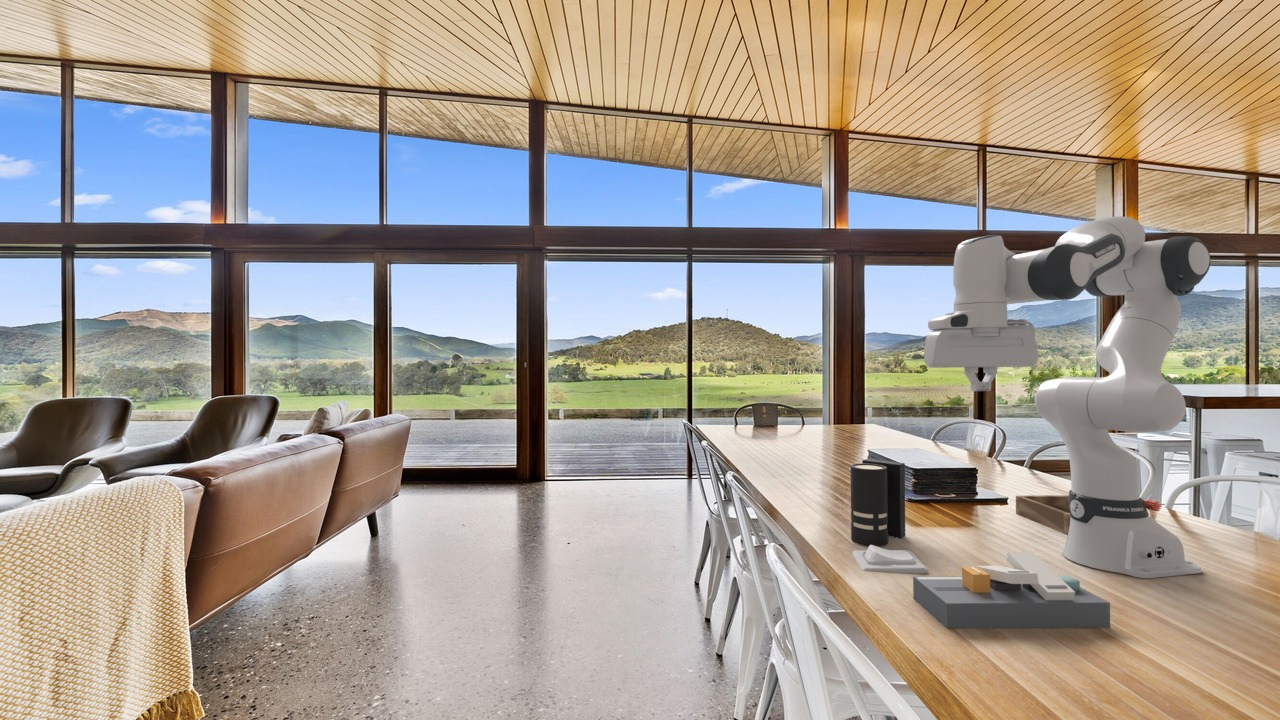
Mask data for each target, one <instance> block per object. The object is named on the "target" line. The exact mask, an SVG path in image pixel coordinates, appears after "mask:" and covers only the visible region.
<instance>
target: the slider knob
mask: <svg viewBox="0 0 1280 720" xmlns="http://www.w3.org/2000/svg"><path fill="white" fill-rule="evenodd" d="M961 576H962V585H963V586H965V587H966V588H967V589H969V590H970V591H972V592H973V593H990V574H988V573H986V572H985V571H983V570H982V569H980V568H978V567H974V566H969V567H967V566H966V567H961Z"/></svg>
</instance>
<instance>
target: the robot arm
mask: <svg viewBox="0 0 1280 720" xmlns="http://www.w3.org/2000/svg"><path fill="white" fill-rule="evenodd" d="M1145 240H1146V231H1145V228H1144V227H1143V225H1142V223H1140V222H1139V221H1137V220H1136V219H1134V218H1132V217H1130V216H1129V217H1128V216H1110V217H1109V216H1108V217H1102V218H1099V219H1094V220H1091V221H1088V222H1085V223H1082V224H1079V225H1078V226H1074V227H1073V228H1070V230H1068V231H1067V232H1065V233H1063V235H1061V236H1060V237H1059V238H1058V239H1057V241H1056V243H1055V245H1054V246H1051V247H1047V248H1043V249H1038V250H1034V251H1028V252H1022V253H1015V252H1013V251H1011V250H1010V249H1008V247H1006V246H1005V243H1004V240H1003V236H1001V235H1000V234H999V235H998V234H988V235H983V236H979V237H978V236H977V237H975V238H970V239H966V240H964V241H961V242H960V243H959V244H958V245H957V247H956V249H955V252H954V259H953V272H952V273H953V274H952V275H953V277H952V278H953V281H952V282H953V287H954V290H955V298H954V301H953V311H952V312H950V313H947V314H946V313H945V314H944V315H939V316H937V317H934V318H931V319H930V320H928V322H927V326H928V329H929V330H930V331H929V332H928V333H927V335H926V337H925V342H924V352H923V353H924V355H923V357H924V363H925V365H926V366H927V367H928V368H931V369H933V368H937V369H938V368H940V369H941V368H942V369H943V368H964V375H965V376H966V378H967V379H968V381H969V382H970V390H971V391H972V392H990V391H992V382H993V380H994V379H995V377H996V376H997V374H998V368H1004V367H1005V368H1008V367H1009V368H1013V367H1015V368H1016V367H1017V368H1020V367H1021V368H1023V367H1025V368H1027V367H1035V366H1036V365H1037V363H1038V362H1039V355H1038V345H1037V340H1036V336H1035V335H1036V330H1035V329H1036V328H1035V325H1033V323H1032V322H1030V321H1028V320H1027V319H1025V318H1024V319H1023V318H1022V319H1021V318H1020V319H1011V318H1010V319H1009V318H1008V305H1013V304H1025V303H1034V302H1042V301H1069V300H1072V299H1075V298H1077V297H1078V296H1080V294H1081V293H1083V292H1084V291H1086V292H1087V293H1088V294H1089V295H1092V296H1093V297H1100V298H1101V297H1102V298H1104V297H1105V298H1108V297H1109V298H1111V297H1114V296H1124V301H1123V302H1124V303H1123V304H1121V306H1120V308H1119V309H1118V310H1117V312H1116V313H1115V315H1114V316H1113V318H1112V319H1111V320H1110V322H1109V324H1108V326H1107V328H1106V330H1105V332H1104V333H1103V335H1102V336H1101V339H1100V341H1099V343H1098V345H1097V346H1096V349H1095V357H1096V361H1097V363H1098V364H1099V366H1100V367H1101V368H1103V370H1105V371H1106V372H1108V373H1109V374H1108V375H1107V376H1102V377H1099V376H1096V377H1095V376H1094V377H1093V376H1067V377H1066V376H1065V377H1058V378H1053V379H1047V380H1044V381H1043V382H1042V383H1041V384H1040V385H1039V387H1038V389H1036V393H1035V397H1034V405H1035V408H1036V411H1037V412H1038V414H1039V415H1040V416H1041V418H1043V419H1044V420H1046V421H1047V422H1048V423H1049V424H1051V426H1052V427H1053V428H1054V429H1055V430H1056V431H1057V433H1058V434H1059V436H1060V437H1061V439H1062V441H1063V443H1064V445H1065V448H1066V450H1067V454H1068V458H1069V465H1070V466H1069V467H1070V468H1069V469H1070V481H1071V482H1070V483H1071V487H1070V490H1068V495H1069V510H1070V515H1071V517H1070V525H1069V531H1068V535H1067V537H1066V541H1065V545H1064V548H1063V550H1062V556H1064V558H1066V559H1068V560H1070V561H1072V562H1074V563H1077V564H1079V565H1083V566H1087V567H1090V568H1093V569H1098V570H1102V571H1107V572H1114V573H1118V574H1124V575H1128V576H1131V577H1134V578H1135V577H1136V578H1140V579H1153V578H1162V577H1163V578H1164V577H1173V576H1184V575H1193V574H1201V573H1202V571H1203V570H1202V567H1200V566H1199V565H1198V564H1196V563H1195V562H1193V561H1191V560H1189V559H1186V558H1185V551H1184V550H1185V549H1184V546H1183V543H1182V541H1181V539H1180V538H1179V537H1178V536H1177V535H1176V534H1174V533H1173V532H1171V531H1170V530H1168V529H1167V528H1166V527H1164V526H1163V525H1162V524H1160V523H1158V521H1156V520H1155V519H1153V518H1152V517H1151V516H1150V514H1149V511H1148V510H1150V511H1153V512H1156V513H1157V512H1160V510H1161V509H1162V504H1160V502H1159V501H1156V500H1152V499H1147V500H1144V499H1143V498H1141V496H1140V464H1139V462H1138V460H1137V458H1136V456H1134V455H1133V454H1132V453H1130V452H1129V451H1127V450H1125V449H1124V448H1122V447H1120V446H1118V445H1117V443H1115V442H1114V440H1113V439H1112V437H1111V435H1110V432H1109V430H1110V431H1121V432H1129V433H1141V434H1142V433H1156V432H1157V433H1158V432H1169V431H1171V430H1173V429H1174V428H1176V427H1177V426H1178V425H1179V424H1180V423H1181V422H1182V420H1183V419H1184V417H1185V415H1186V410H1187V406H1186V405H1187V404H1186V400H1185V398H1184V395H1183V394H1182V392H1181V391H1180V390H1179V389H1178V388H1177V386H1175V385H1174V384H1172V383H1170V382H1169V381H1168V380H1167V379H1165V378H1164V376H1163V373H1162V367H1163V364H1164V360H1165V358H1166V355H1167V353H1168V351H1169V349H1170V347H1171V344H1172V342H1173V340H1174V338H1175V335H1176V333H1177V331H1178V327H1179V325H1180V319H1181V314H1182V313H1181V312H1182V306H1181V303H1180V301H1179V300H1178V297H1185V296H1186V295H1188V294H1191V293H1192V291H1194V289H1195V287H1196V286H1197V285H1199V283H1201V281H1202V280H1203V279H1204V278H1205V276H1206V275H1207V274H1208V272H1209V270H1210V266H1211V254H1210V250H1209V249H1208V246H1207V245H1206V244H1205V243H1204V242H1203V241H1202V240H1200V239H1199V238H1198V237H1195V236H1173V237H1169V238H1166V239H1156V240H1150V241H1145ZM979 368H982V370H983V373H985V375H984V377H983V379H982V381H980V380H979V378H978V376H977V374H978V372H979Z"/></svg>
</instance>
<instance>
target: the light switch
mask: <svg viewBox="0 0 1280 720" xmlns="http://www.w3.org/2000/svg"><path fill="white" fill-rule="evenodd" d="M851 555H852V556H853V558H854V559H855V561H856V563H857V564H858V566H859V568H860V569H861V570H862V571H865V572H879V573H880V572H881V573H883V572H884V573H885V572H886V573H898V574H899V573H900V574H903V573H904V574H929V572H930V571H929V569H928V568H927V566H926V565H925V564H923V562H922V561H921V560H920V559H919V558H918V557H917V556H916V555H915V554H914V553H913V551H911V550H910V549H892V550H891V549H886V548H882V547H881V546H880V547H877V546H874V545H870V546H867V549H866V550H853V551H852V552H851Z"/></svg>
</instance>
